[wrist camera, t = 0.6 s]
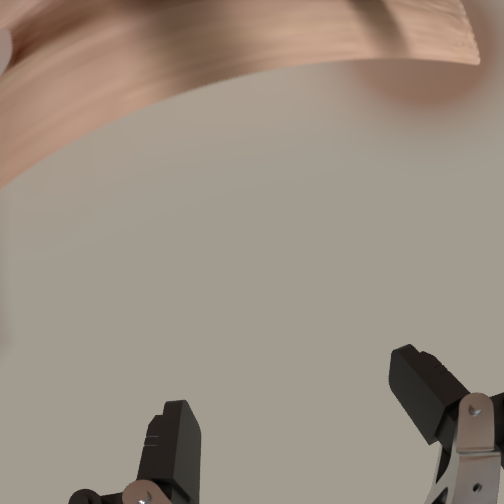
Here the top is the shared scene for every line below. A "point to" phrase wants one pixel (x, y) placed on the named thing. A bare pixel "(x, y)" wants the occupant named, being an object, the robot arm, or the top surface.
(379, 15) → the top surface
